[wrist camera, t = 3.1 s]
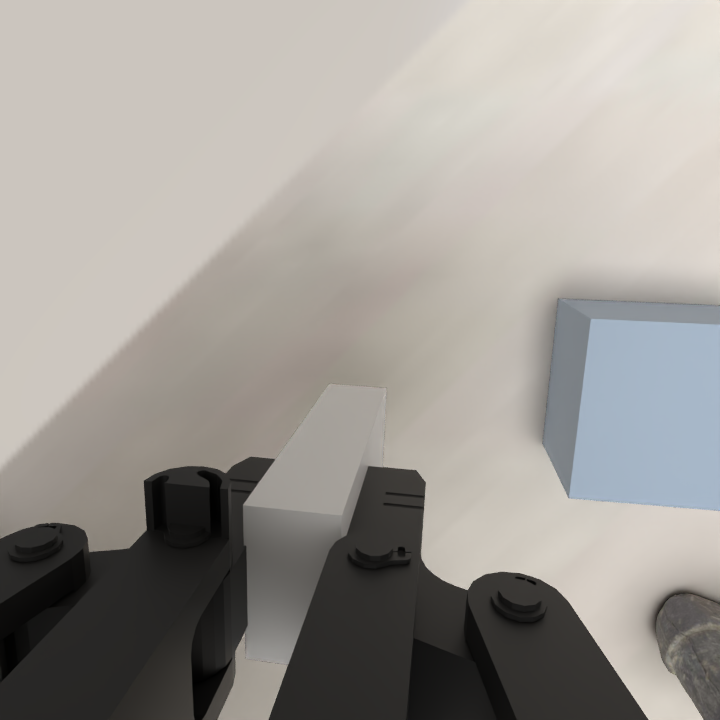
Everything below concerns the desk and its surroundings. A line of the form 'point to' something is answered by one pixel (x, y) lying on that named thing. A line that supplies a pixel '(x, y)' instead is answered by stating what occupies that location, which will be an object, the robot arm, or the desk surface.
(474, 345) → the desk surface
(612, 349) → the block
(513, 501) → the desk surface
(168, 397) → the desk surface
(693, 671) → the stone
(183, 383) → the desk surface
